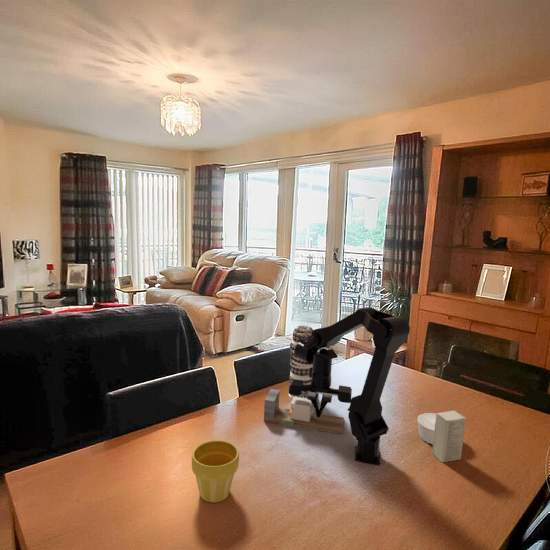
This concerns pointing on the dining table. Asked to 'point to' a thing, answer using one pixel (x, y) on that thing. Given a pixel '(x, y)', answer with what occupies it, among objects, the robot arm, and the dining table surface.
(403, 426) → the dining table surface
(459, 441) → the skincare box
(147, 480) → the dining table surface
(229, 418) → the dining table surface
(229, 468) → the plant pot
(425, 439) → the ramekin
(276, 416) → the gauge board
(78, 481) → the dining table surface
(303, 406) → the block
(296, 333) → the decorative candle
